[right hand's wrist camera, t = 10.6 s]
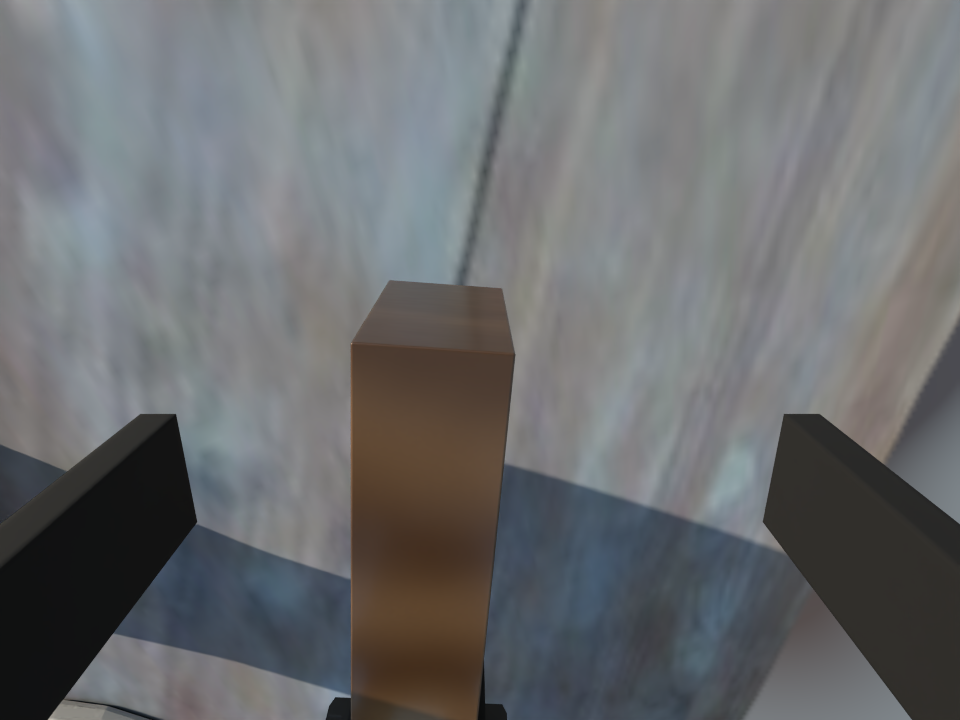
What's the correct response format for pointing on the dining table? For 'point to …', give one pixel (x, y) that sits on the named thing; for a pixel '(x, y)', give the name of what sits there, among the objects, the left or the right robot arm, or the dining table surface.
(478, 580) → the bar
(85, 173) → the dining table surface
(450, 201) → the dining table surface
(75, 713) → the wall clock
